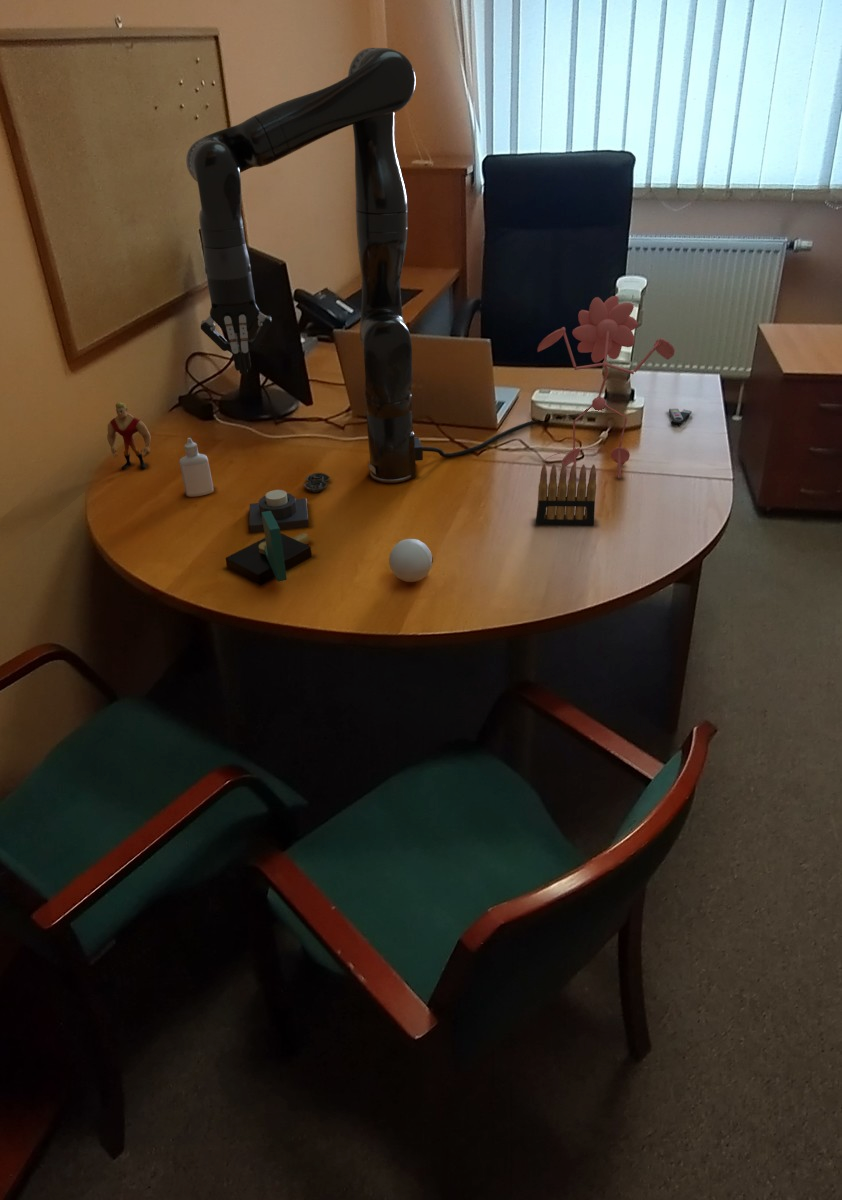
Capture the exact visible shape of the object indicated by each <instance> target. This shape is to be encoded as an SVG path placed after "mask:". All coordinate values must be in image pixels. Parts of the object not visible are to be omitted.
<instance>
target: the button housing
mask: <svg viewBox="0 0 842 1200" xmlns="http://www.w3.org/2000/svg"><path fill="white" fill-rule="evenodd" d="M286 493H287V492H286ZM287 500H288V502H287V503H286V504H284V505H282V506H274V507H273V506H268V505H267V503H266V495H264V496H262V497H260V498H259V500H258V502H255V503H253V502H252V503H249V522H248V523H249V532H250V534H256V533H264V527H263V520H262V514H261V512H266V511H271V512H272V514H273V516H274V518H275V520H276V522H277V524H278V526H279V528H280V531H285V530H294V529H295V530H296V529H305V528H309V527H310V523H309V522H310V521H309V512H308V501H307V498H305V497H304V498H296V497H295V495H293V494H291V493H287Z"/></svg>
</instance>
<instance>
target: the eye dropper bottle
mask: <svg viewBox="0 0 842 1200" xmlns="http://www.w3.org/2000/svg"><path fill="white" fill-rule="evenodd" d="M184 450H185V451H184V452H185V455H184V456H182V457H181V458H180V459H179V466H180V473H181V477H182V481H183V482H182V483H183V486H184V492H185V495H186V496H187V497H190V498H191V497H193V498H194V497H196V498H197V497H203V496H206V495H209V494H212V493H213V492H214V490H215V489H214V488H215V487H214V483H213V478H212V474H211V473H212V472H211V467H210V463H209V458H208V456H207V455H206V454H204V453H200V452H199V449H198V444H197V443H196V442H194V441H193V440H192V437H187V443H185V444H184Z"/></svg>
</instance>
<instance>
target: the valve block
mask: <svg viewBox="0 0 842 1200" xmlns="http://www.w3.org/2000/svg"><path fill="white" fill-rule="evenodd" d="M280 534H281V542H282V549H283V556H284V563H285V570H286V572H287V571H289V570H291V569H292V568H293V569H294V567H296V566H298V565H300V564H302V563H304V562H306V561H307V560H309V559H311V558H312V557H313V555H312V547H311V546H310V545H308V544H310V541H311V540H310V539H311V538H310V536H309V534H308V533H307V532H301V533H299V534H297V535H295V536H293V537H290V536H288V535H286V534H285V533H282V532H280ZM265 541H266V540H265V537H263V538H261V539H259V540H258V541H256V542H253V543H252V544H250V545H248V546H246V547H244V548H242V549H240V550H238V551H236V552H234V553H232V554H230V555H229V556H226V557H225V563H226V569H228V570H230V571H232V572H234V573H235V574H237V575H239V576H241V577H243V578H245V579H247V580H248V581H251V582H253V583H254V584H256V585H258V586H262V585H264V584H266V583H267V582H269V581H271V580H273V579H276V577H275V575H274V573H273V571H272V568H271V566H270V564H269V562H268V560H267V557H266V555H265V554H262V553H260V552H259V544H260V543H262V542H265Z"/></svg>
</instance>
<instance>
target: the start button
mask: <svg viewBox="0 0 842 1200" xmlns="http://www.w3.org/2000/svg"><path fill="white" fill-rule="evenodd" d="M265 496H266V503H267V505H268V506H273V507H274V506H282V505H284V504H286V503H287V502H288V500H287V492H286V491H285V490H283V489H273V490H270V491H268V492H266V493H265Z"/></svg>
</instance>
